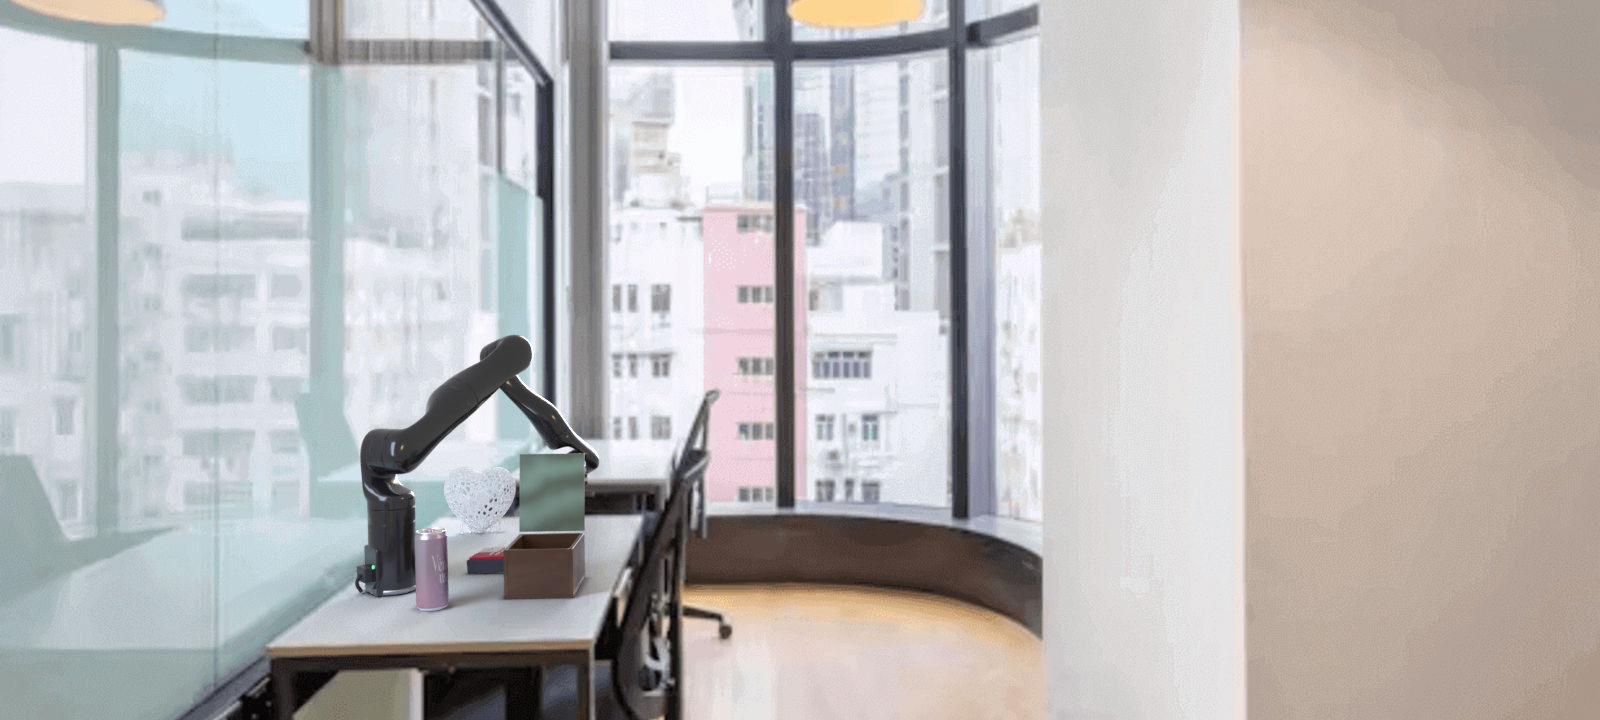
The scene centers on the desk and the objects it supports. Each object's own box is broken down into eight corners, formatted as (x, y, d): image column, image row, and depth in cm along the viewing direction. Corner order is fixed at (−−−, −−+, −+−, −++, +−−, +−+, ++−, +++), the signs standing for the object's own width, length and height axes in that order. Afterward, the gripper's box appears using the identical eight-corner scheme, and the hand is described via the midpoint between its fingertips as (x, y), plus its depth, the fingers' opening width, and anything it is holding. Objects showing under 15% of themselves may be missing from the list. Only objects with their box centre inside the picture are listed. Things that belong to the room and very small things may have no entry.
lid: (584, 453, 228) (584, 453, 229) (519, 454, 228) (520, 454, 228) (584, 530, 227) (584, 530, 228) (519, 531, 227) (520, 531, 228)
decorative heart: (439, 538, 270) (438, 470, 269) (450, 529, 281) (449, 464, 280) (512, 536, 271) (510, 469, 270) (520, 527, 282) (519, 463, 281)
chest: (573, 597, 213) (572, 549, 212) (504, 599, 212) (503, 550, 212) (585, 578, 228) (584, 532, 228) (520, 579, 228) (519, 533, 227)
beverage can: (437, 601, 211) (436, 526, 210) (455, 606, 207) (453, 529, 206) (410, 608, 206) (408, 531, 205) (427, 613, 202) (425, 535, 202)
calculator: (483, 546, 243) (548, 543, 242) (484, 565, 243) (549, 562, 242) (465, 557, 232) (533, 554, 231) (466, 577, 232) (534, 574, 231)
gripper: (536, 457, 245) (520, 468, 228) (594, 457, 246) (583, 467, 229) (537, 490, 246) (521, 503, 228) (595, 489, 246) (583, 502, 229)
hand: (552, 485), depth 228 cm, fingers closed
